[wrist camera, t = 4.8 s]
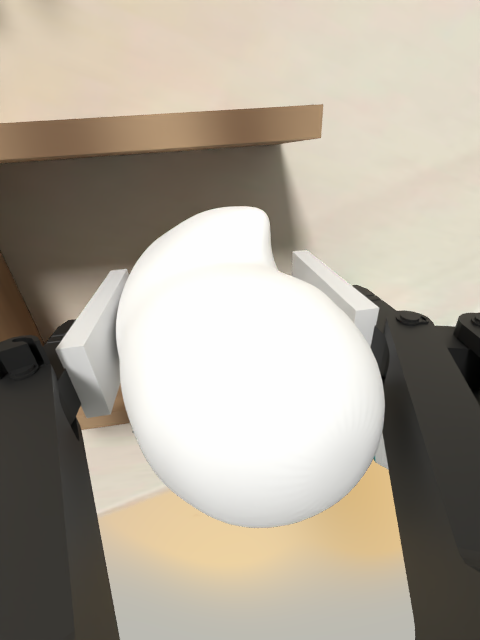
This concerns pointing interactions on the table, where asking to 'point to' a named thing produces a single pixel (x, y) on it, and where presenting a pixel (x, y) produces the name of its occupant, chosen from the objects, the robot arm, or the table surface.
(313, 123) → the walnut box
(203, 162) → the table surface
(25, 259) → the table surface
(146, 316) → the figurine
